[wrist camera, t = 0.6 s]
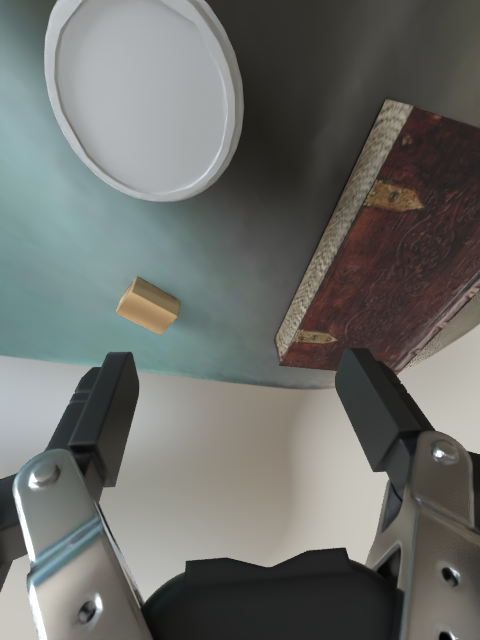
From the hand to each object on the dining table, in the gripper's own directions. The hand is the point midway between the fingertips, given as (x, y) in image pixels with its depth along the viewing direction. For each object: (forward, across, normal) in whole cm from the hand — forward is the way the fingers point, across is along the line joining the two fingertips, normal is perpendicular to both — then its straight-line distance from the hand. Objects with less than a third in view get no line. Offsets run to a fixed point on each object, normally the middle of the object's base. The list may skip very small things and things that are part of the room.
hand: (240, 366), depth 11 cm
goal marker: (+24, +9, +11) cm, 28 cm away
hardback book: (+23, -20, +6) cm, 31 cm away
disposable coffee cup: (+21, +4, -9) cm, 24 cm away
